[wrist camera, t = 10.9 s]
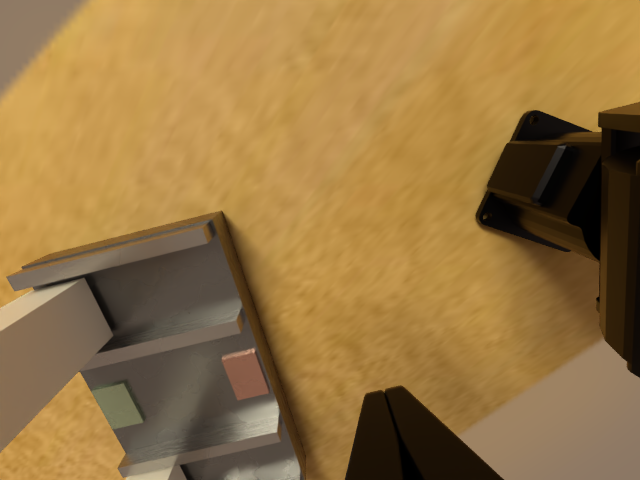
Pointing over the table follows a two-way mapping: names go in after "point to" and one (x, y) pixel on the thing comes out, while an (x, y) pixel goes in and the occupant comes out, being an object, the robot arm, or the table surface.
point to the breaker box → (181, 354)
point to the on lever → (161, 474)
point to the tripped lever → (44, 349)
